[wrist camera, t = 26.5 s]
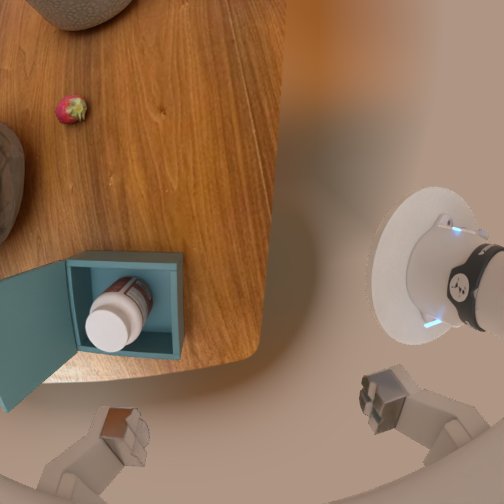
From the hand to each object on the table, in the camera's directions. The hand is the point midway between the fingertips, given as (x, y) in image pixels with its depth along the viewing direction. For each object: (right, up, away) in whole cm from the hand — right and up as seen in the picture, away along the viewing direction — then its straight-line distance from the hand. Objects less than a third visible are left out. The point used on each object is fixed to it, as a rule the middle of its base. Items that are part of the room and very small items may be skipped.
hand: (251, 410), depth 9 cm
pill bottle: (-16, 0, +27) cm, 31 cm away
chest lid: (-21, -2, +13) cm, 25 cm away
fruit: (-25, +25, +22) cm, 41 cm away
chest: (-16, 0, +28) cm, 32 cm away
